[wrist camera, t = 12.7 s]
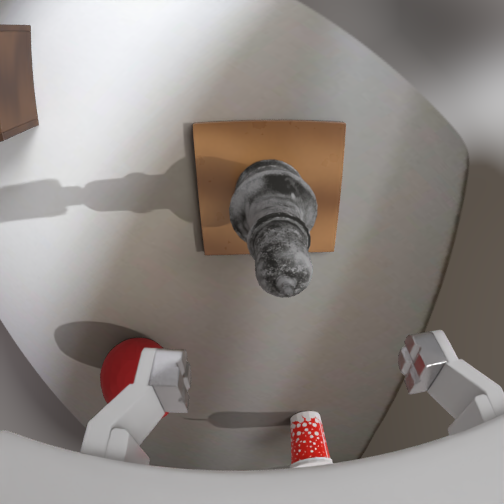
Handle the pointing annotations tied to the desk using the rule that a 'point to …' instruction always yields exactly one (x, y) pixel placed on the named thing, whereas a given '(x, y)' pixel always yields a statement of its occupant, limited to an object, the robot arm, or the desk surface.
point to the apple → (123, 366)
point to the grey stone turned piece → (275, 224)
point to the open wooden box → (16, 81)
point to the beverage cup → (308, 440)
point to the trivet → (263, 148)
